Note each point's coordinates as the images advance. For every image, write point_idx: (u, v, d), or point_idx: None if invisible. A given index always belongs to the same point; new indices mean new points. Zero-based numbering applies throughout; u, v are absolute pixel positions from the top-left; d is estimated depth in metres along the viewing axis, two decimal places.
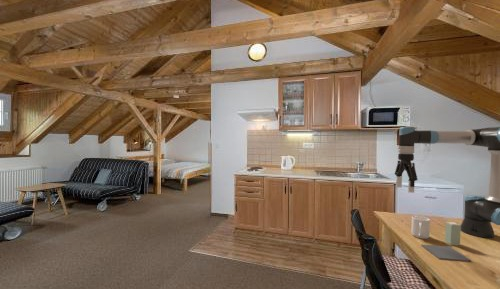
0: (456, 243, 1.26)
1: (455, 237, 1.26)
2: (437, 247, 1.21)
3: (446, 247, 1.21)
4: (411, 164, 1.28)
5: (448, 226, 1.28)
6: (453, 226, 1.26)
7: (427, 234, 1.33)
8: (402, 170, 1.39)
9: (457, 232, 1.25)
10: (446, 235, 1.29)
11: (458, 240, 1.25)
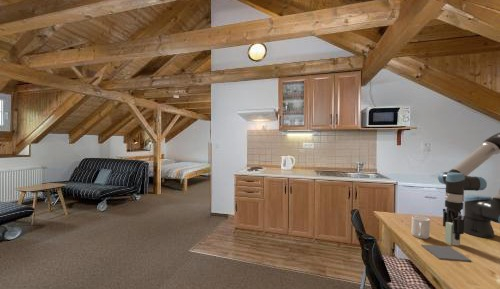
0: None
1: None
2: (437, 247, 1.21)
3: (446, 247, 1.21)
4: (461, 218, 1.21)
5: (448, 226, 1.28)
6: (453, 226, 1.26)
7: (427, 234, 1.33)
8: (451, 220, 1.29)
9: None
10: (446, 235, 1.29)
11: None
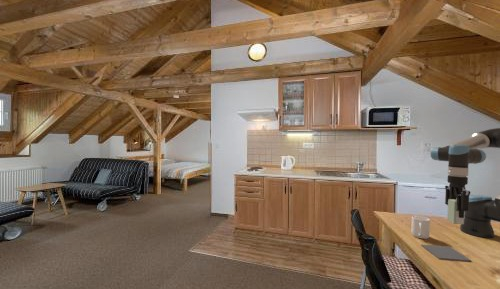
0: None
1: None
2: (437, 247, 1.21)
3: (446, 247, 1.21)
4: (466, 193, 1.10)
5: (451, 203, 1.17)
6: (456, 203, 1.14)
7: (427, 234, 1.33)
8: (454, 197, 1.18)
9: None
10: (449, 213, 1.18)
11: None
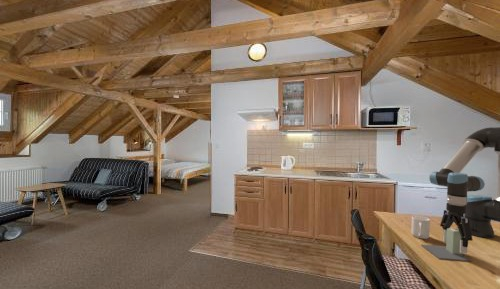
0: (459, 251, 1.15)
1: (457, 245, 1.15)
2: (437, 247, 1.21)
3: None
4: (465, 220, 1.10)
5: (450, 233, 1.17)
6: (455, 233, 1.15)
7: (427, 234, 1.33)
8: (451, 222, 1.20)
9: (459, 239, 1.15)
10: (448, 242, 1.18)
11: None
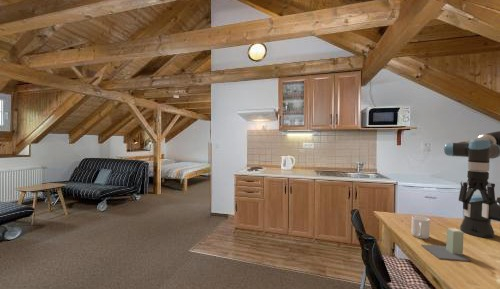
0: (459, 251, 1.15)
1: (457, 245, 1.15)
2: (437, 247, 1.21)
3: None
4: (461, 184, 1.16)
5: (450, 233, 1.17)
6: (455, 233, 1.15)
7: (427, 234, 1.33)
8: (483, 193, 1.14)
9: (459, 239, 1.15)
10: (448, 242, 1.18)
11: (461, 248, 1.15)
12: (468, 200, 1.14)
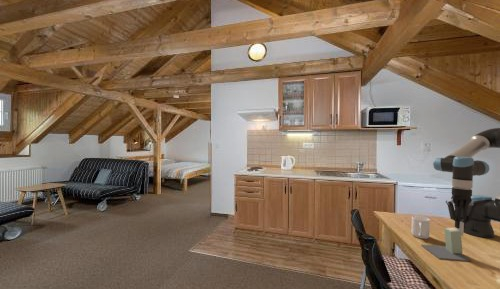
0: (459, 251, 1.15)
1: (456, 244, 1.15)
2: (437, 247, 1.21)
3: None
4: (447, 203, 1.17)
5: (447, 233, 1.17)
6: (453, 233, 1.15)
7: (427, 234, 1.33)
8: (462, 210, 1.16)
9: (457, 239, 1.15)
10: (447, 242, 1.18)
11: (460, 247, 1.15)
12: (459, 218, 1.15)
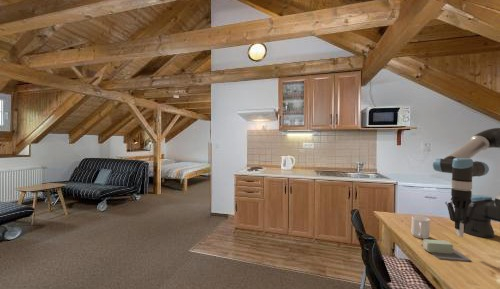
0: (450, 247, 1.15)
1: (443, 248, 1.16)
2: None
3: None
4: (446, 204, 1.17)
5: None
6: (430, 250, 1.16)
7: (427, 234, 1.33)
8: (462, 211, 1.16)
9: (437, 246, 1.16)
10: None
11: (446, 245, 1.15)
12: (459, 220, 1.15)
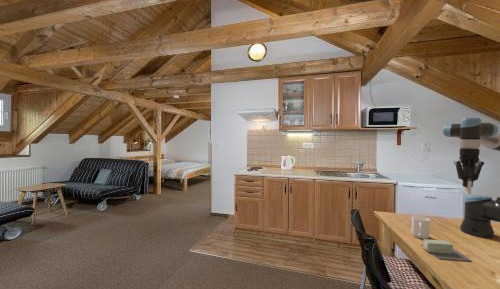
0: (450, 247, 1.15)
1: (443, 248, 1.16)
2: None
3: None
4: (455, 163, 1.22)
5: None
6: (430, 250, 1.16)
7: (427, 234, 1.33)
8: (470, 169, 1.20)
9: (437, 246, 1.16)
10: None
11: (446, 245, 1.15)
12: (467, 177, 1.20)
